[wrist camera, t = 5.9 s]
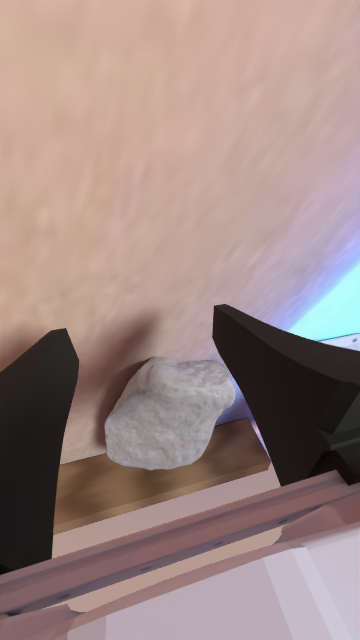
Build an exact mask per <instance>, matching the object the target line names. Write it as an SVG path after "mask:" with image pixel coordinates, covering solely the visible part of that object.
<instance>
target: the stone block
mask: <svg viewBox="0 0 360 640" xmlns="http://www.w3.org/2000/svg"><path fill="white" fill-rule="evenodd" d="M234 400H235V387H234V385H233V383H232V379H231V376H230V373H229V371H228V370H227V369H226V368H225V366H224V365H222V364H220V363H218V362H217V361H204V360H200V361H188V362H180V361H176V360H173V359H170V358H160V357H152V358H151V359H150V360H149V361H148V362H146V363H145V364H144V365H143V366H142V367H141V368H140V369H139V370H138V371H137V372H136V374H135V375H134V376H133V377H132V378H131V379H130V380H129V381H128V384H127V386H126V387H125V389H124V391H123V393H122V395H121V397H120V398H119V399H118V401H117V403H116V404H115V406H114V408H113V410H112V411H111V413H110V414H109V415H108V417H107V420H106V421H105V424H104V428H105V434H106V436H105V441H106V444H107V446H106V452H107V455H108V457H109V458H110V459H111V460H113V461H114V462H116V463H119V464H121V465H123V466H132V467H137V468H145V469H148V470H154V469H166V470H168V469H173V468H177V467H180V466H185V465H189V464H192V463H193V462H194V461H196V460H197V459H199V458H200V457H201V455H202V454H203V452H204V450H205V449H206V446H207V445H208V443H209V441H210V438H211V435H212V432H213V428H214V425H215V423H216V420H217V419H218V417H219V416H220V415H221V414H222V412H223V410H225V409H227V408H229V407H231V406H232V404H233V402H234Z"/></svg>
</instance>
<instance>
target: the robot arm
mask: <svg viewBox="0 0 360 640" xmlns="http://www.w3.org/2000/svg"><path fill="white" fill-rule="evenodd" d="M212 338H213V340H214V343H215V345H216V348H217V350H218V352H219V354H220V356H221V358H222V359H223V361H224V363H225V364H226V366H227V368H228V369H229V371H230V373H231V374H232V376H233V378H234V379H235V381H236V383H237V384H238V386H239V388H240V390H241V392H242V393H243V395H244V397H245V400H246V402H247V404H248V406H249V408H250V410H251V413H252V415H253V417H254V420H255V422H256V424H257V426H258V429H259V431H260V433H261V436H262V438H263V441H264V443H265V446H266V448H267V451H268V453H269V456H270V458H271V461H272V464H273V466H274V469H275V472H276V474H277V477H278V479H279V482H280V485H281V487H279V488H276V489H273V490H270V491H267V492H264V493H260V494H257V495H254V496H251V497H247V498H244V499H241V500H238V501H235V502H232V503H228V504H225V505H222V506H219V507H216V508H213V509H209V510H206V511H203V512H200V513H197V514H193V515H190V516H187V517H184V518H181V519H177V520H174V521H171V522H168V523H165V524H162V525H158V526H155V527H152V528H149V529H146V530H142V531H139V532H136V533H133V534H130V535H127V536H123V537H120V538H117V539H114V540H111V541H108V542H104V543H101V544H98V545H95V546H92V547H88V548H85V549H82V550H79V551H76V552H73V553H70V554H66V555H63V556H60V557H57V558H53V559H52V544H53V529H54V514H55V503H56V493H57V482H58V474H59V466H60V458H61V451H62V444H63V437H64V432H65V427H66V423H67V419H68V415H69V411H70V407H71V403H72V399H73V396H74V392H75V387H76V383H77V378H78V369H79V359H78V357H77V354H76V352H75V349H74V347H73V344H72V342H71V340H70V337H69V335H68V332H67V330H66V328H64V329H57V330H52V331H50V332H49V333H47V334H46V335H45V336H44V337H42V338H41V339H40V340H39V341H38V342H37V343H35V344H34V345H33V346H32V347H31V348H30V349H28V350H27V351H26V352H25V353H24V354H23V355H21V356H20V357H19V358H18V359H17V360H15V361H14V362H13V363H12V364H10V365H9V366H8V367H7V368H5V369H4V370H3V371H2V372H0V640H360V333H359V334H354V335H349V336H344V337H339V338H334V339H329V340H323V341H314V340H310V339H307V338H304V337H300V336H297V335H294V334H292V333H289V332H286V331H283V330H281V329H278V328H276V327H273V326H271V325H269V324H266V323H264V322H262V321H260V320H258V319H255V318H253V317H251V316H249V315H247V314H245V313H243V312H241V311H239V310H237V309H235V308H233V307H231V306H229V305H226V304H222V305H216V306H214V316H213V335H212ZM288 523H289V524H288ZM285 524H288V525H286V526H284V527H282V532H281V533H282V535H281V536H280V538H279V539H278V540H277V541H276V542H275V543H274V544H273V545H271V546H268V547H264V548H260V549H257V550H254V551H250V552H247V553H243V554H240V555H237V556H234V557H231V558H228V559H225V560H222V561H219V562H216V563H213V564H209V565H207V566H203V567H201V568H198V569H195V570H192V571H189V572H187V573H184V574H181V575H178V576H176V577H173V578H170V579H167V580H165V581H162V582H160V583H157V584H155V585H152V586H149V587H147V588H144V589H141V590H139V591H136V592H134V593H131V594H129V595H126V596H124V597H121V598H119V599H117V600H114V601H112V602H109V603H107V604H105V605H102V606H100V607H97V608H95V609H93V610H91V611H88V612H77V611H73V610H70V608H69V607H68V605H67V604H64V605H60V606H56V607H51V608H47V609H43V608H46V607H49V606H51V605H54V604H57V603H60V602H63V601H66V600H69V599H72V598H75V597H77V596H80V595H83V594H86V593H89V592H92V591H94V590H98V589H101V588H103V587H106V586H109V585H112V584H115V583H118V582H120V581H124V580H126V579H129V578H132V577H135V576H138V575H141V574H144V573H147V572H150V571H152V570H155V569H158V568H161V567H164V566H167V565H170V564H172V563H175V562H178V561H181V560H184V559H187V558H190V557H193V556H196V555H198V554H201V553H204V552H207V551H210V550H213V549H216V548H218V547H222V546H224V545H227V544H230V543H233V542H236V541H239V540H242V539H244V538H247V537H250V536H253V535H256V534H259V533H262V532H264V531H268V530H270V529H273V528H276V527H279V526H282V525H285ZM40 609H42V610H40ZM37 610H38V611H37Z"/></svg>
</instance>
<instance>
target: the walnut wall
mask: <svg viewBox="0 0 360 640" xmlns="http://www.w3.org/2000/svg"><path fill="white" fill-rule="evenodd" d="M270 463H271V460H270V458H269V456H268V455H267V453H266V451H265V449H264V447H263V445H262V443H261V442H260V440H259V438H258V436H257V434H256V432H255V431H254V429H253V427H252V425H251V423H250V421H249V419H248V418H245V419H241V420H237V421H234V422H230V423H226V424H222V425H218V426H214V428H213V432H212V435H211V438H210V441H209V443H208V445H207V446H206V449H205V450H204V452H203V454H202V455H201V457H200V458H199V459H197V460H196V461H194V462H193V463H192V464H189V465H185V466H180V467H177V468H173V469H168V470H166V469H154V470H148V469H145V468H137V467H132V466H123V465H121V464H119V463H116V462H114V461H113V460H111V459H110V458H109V457H108V455H107V454H103V455H99V456H95V457H91V458H87V459H83V460H79V461H75V462H71V463H67V464H63V465H60V466H59V474H58V482H57V493H56V503H55V514H54V529H53V535H55V534H58V533H61V532H65V531H68V530H71V529H74V528H77V527H81V526H84V525H88V524H91V523H94V522H98V521H101V520H104V519H107V518H110V517H114V516H117V515H121V514H124V513H127V512H130V511H134V510H137V509H140V508H144V507H147V506H150V505H153V504H157V503H160V502H163V501H167V500H170V499H173V498H177V497H180V496H183V495H186V494H190V493H193V492H196V491H200V490H203V489H206V488H209V487H213V486H216V485H219V484H223V483H226V482H229V481H233V480H236V479H239V478H242V477H245V476H249V475H252V474H256V473H259V472H262V471H265V470H268V467H269V465H270Z"/></svg>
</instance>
